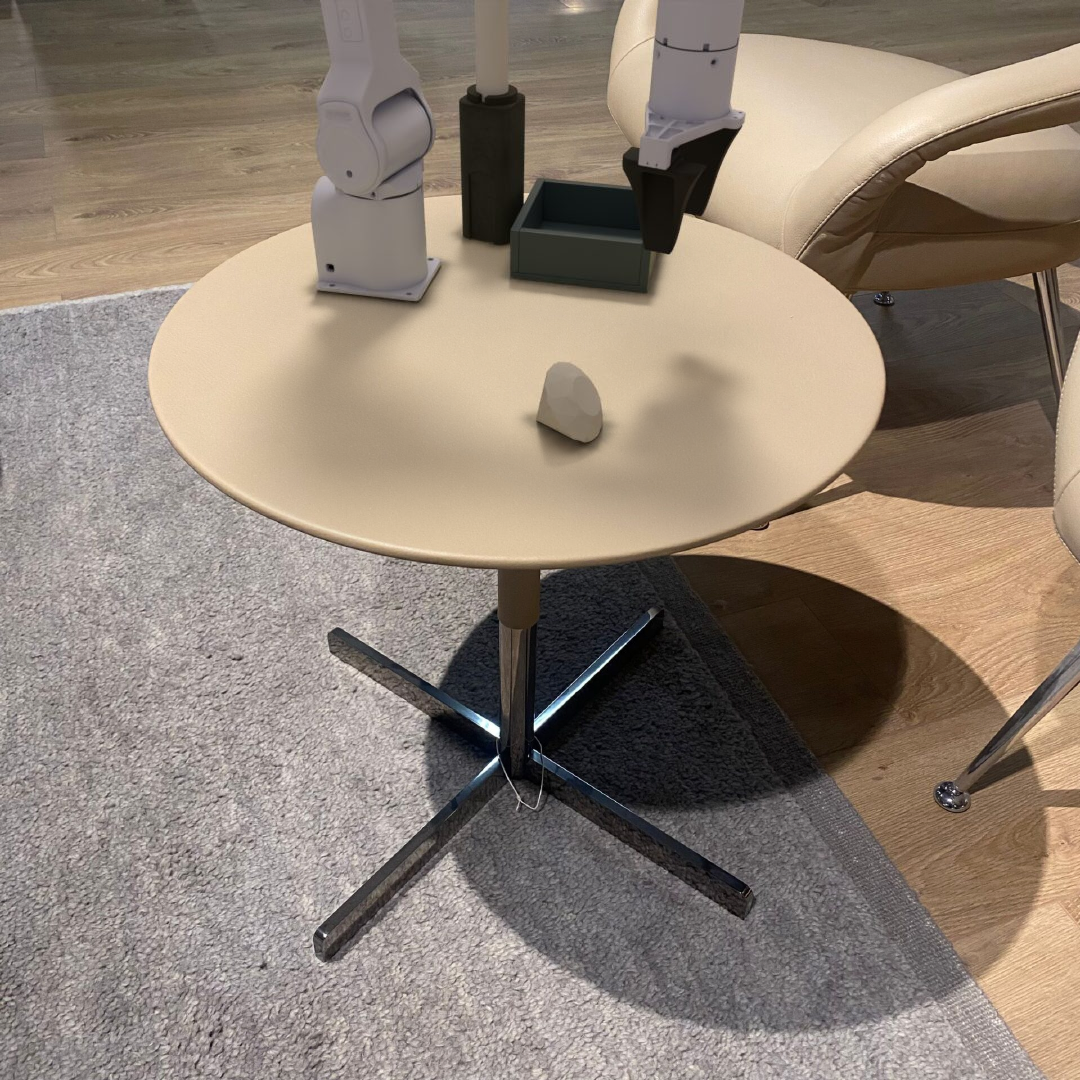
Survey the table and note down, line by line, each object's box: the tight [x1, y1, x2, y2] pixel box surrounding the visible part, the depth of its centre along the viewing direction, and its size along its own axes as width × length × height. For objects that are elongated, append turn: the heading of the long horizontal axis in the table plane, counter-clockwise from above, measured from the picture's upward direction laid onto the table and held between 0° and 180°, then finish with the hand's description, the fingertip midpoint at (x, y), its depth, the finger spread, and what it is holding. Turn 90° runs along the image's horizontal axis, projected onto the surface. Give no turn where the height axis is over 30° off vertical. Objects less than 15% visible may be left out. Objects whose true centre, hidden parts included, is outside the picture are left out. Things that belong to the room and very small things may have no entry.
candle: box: [458, 0, 526, 246], centre depth 92 cm, size 5×5×25 cm
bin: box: [509, 177, 658, 293], centre depth 96 cm, size 13×13×5 cm
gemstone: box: [535, 361, 604, 443], centre depth 74 cm, size 6×6×5 cm
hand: (674, 231), depth 78 cm, fingers open, 7 cm apart
